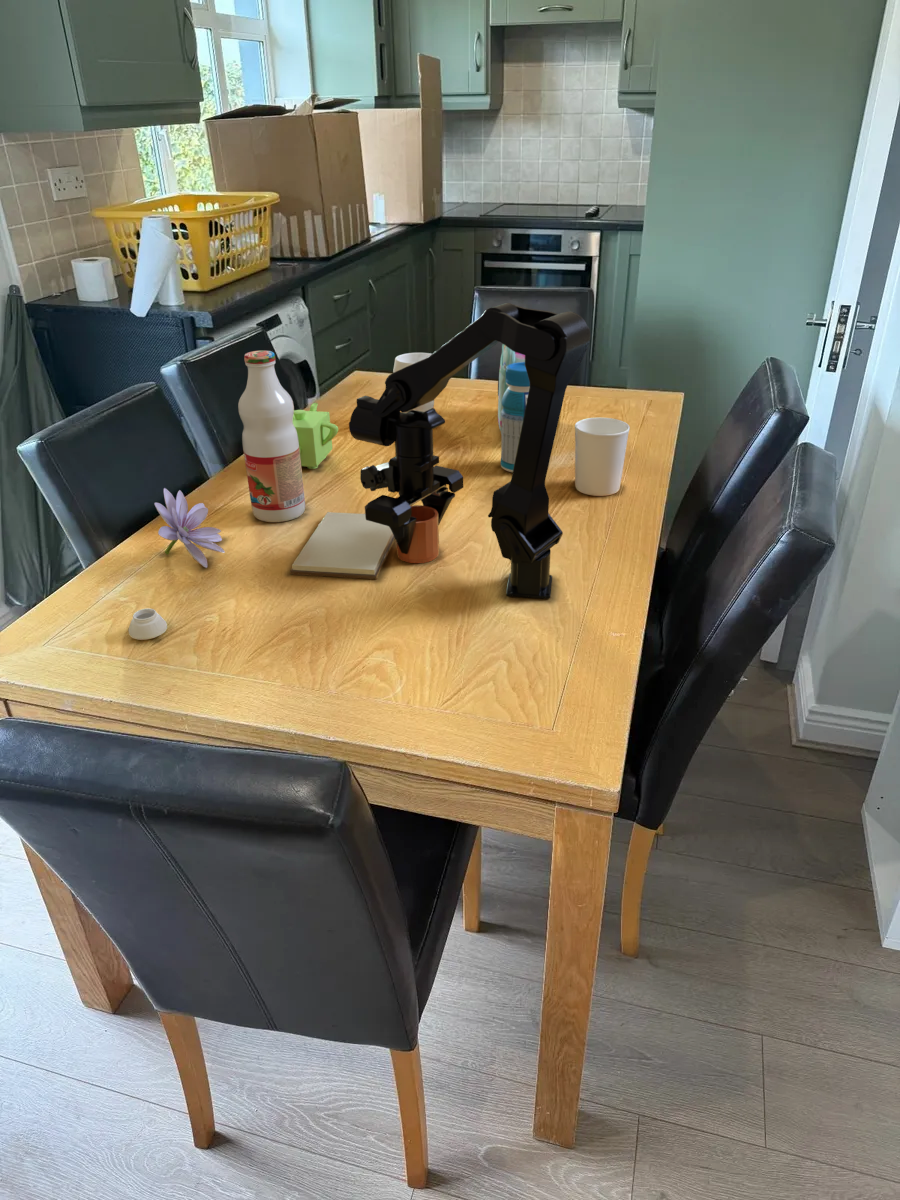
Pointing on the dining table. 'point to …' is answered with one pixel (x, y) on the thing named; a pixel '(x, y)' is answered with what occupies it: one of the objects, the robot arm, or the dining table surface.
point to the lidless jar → (146, 624)
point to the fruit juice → (270, 443)
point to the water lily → (187, 526)
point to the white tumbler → (600, 455)
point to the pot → (423, 536)
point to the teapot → (314, 435)
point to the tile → (345, 548)
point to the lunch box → (506, 359)
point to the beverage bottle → (513, 412)
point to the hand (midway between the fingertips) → (417, 544)
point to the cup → (406, 361)
